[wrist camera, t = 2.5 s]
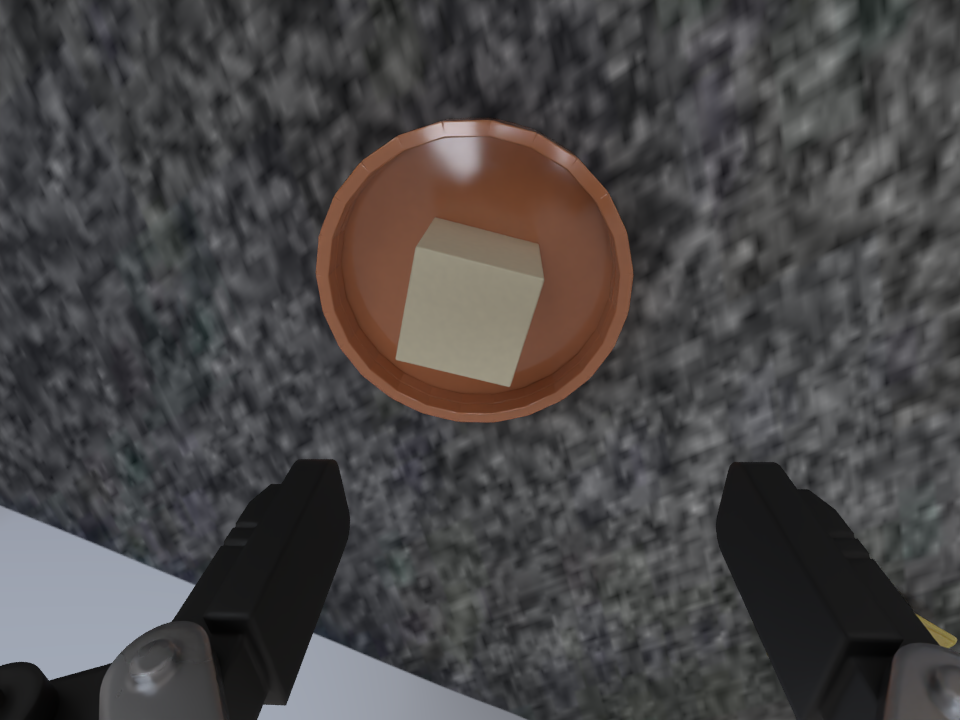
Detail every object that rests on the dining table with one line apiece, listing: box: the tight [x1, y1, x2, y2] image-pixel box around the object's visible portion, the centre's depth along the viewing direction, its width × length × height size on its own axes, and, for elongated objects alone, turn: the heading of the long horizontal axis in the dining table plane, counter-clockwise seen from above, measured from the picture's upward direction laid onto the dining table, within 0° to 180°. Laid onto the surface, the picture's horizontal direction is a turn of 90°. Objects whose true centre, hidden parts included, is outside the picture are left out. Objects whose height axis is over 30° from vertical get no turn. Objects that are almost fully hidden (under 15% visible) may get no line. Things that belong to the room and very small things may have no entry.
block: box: [396, 217, 544, 387], centre depth 22 cm, size 5×5×5 cm
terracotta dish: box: [316, 118, 634, 422], centre depth 24 cm, size 14×14×2 cm
